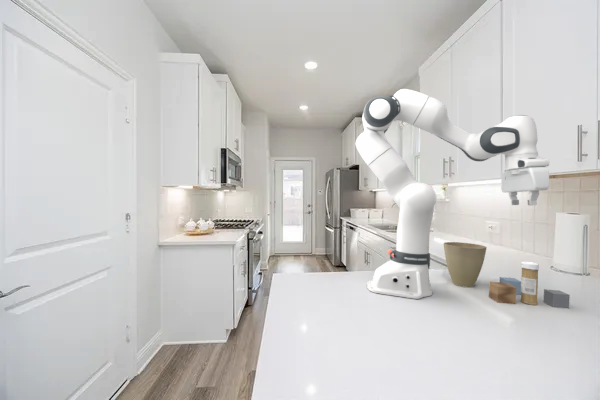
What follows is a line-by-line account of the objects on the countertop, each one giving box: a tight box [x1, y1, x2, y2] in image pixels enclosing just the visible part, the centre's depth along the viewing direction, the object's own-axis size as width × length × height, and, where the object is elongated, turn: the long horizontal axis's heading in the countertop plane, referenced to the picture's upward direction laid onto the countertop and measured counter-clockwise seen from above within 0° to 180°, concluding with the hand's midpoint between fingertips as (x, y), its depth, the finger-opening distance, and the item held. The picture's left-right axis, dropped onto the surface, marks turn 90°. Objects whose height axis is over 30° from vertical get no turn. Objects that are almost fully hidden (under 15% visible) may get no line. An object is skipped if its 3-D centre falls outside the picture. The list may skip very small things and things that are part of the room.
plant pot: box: [443, 241, 487, 288], centre depth 113 cm, size 15×15×16 cm
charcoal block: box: [543, 288, 571, 309], centre depth 93 cm, size 4×4×4 cm
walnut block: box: [488, 281, 517, 305], centre depth 96 cm, size 6×6×6 cm
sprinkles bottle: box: [519, 261, 540, 306], centre depth 94 cm, size 5×5×14 cm
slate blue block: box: [498, 276, 521, 296], centre depth 105 cm, size 5×5×5 cm
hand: (523, 205), depth 95 cm, fingers open, 8 cm apart
